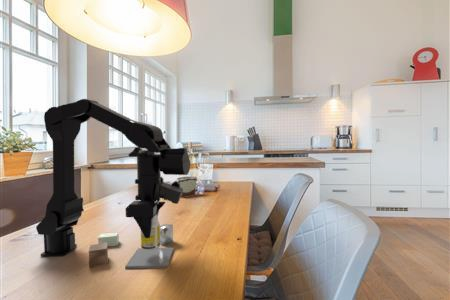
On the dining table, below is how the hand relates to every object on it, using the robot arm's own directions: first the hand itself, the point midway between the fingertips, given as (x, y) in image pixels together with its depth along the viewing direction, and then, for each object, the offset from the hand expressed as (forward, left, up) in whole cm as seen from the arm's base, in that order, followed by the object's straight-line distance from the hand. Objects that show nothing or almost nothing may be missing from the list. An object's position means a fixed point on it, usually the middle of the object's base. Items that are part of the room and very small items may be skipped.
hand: (150, 234), depth 66 cm
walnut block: (-13, -1, -7) cm, 14 cm away
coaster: (0, 0, -6) cm, 6 cm away
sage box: (-15, +10, -7) cm, 19 cm away
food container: (0, +74, -7) cm, 74 cm away
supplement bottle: (0, 0, -4) cm, 4 cm away
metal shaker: (+2, +10, -7) cm, 12 cm away
